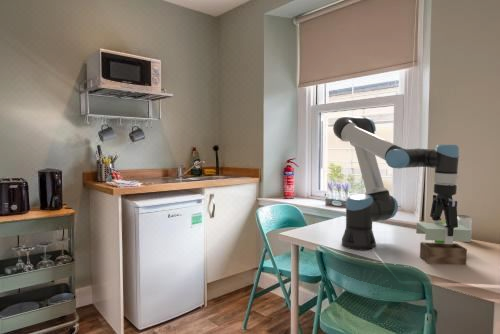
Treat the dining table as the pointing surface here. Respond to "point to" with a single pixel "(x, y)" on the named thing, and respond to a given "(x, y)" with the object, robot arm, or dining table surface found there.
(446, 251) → the box
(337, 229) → the dining table surface
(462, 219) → the can
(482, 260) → the dining table surface
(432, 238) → the lid
